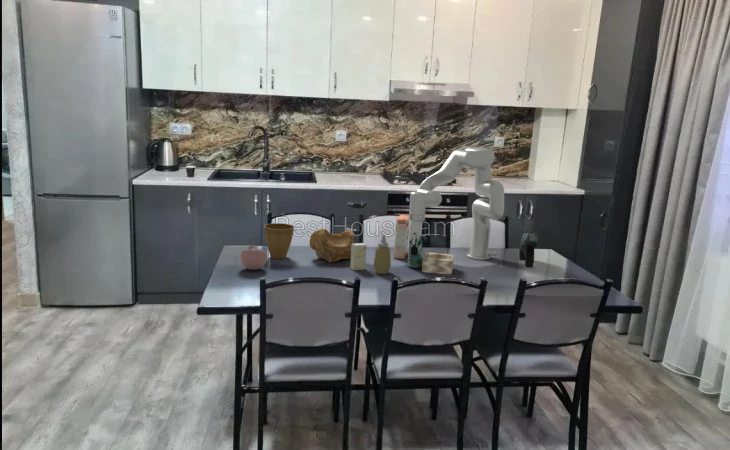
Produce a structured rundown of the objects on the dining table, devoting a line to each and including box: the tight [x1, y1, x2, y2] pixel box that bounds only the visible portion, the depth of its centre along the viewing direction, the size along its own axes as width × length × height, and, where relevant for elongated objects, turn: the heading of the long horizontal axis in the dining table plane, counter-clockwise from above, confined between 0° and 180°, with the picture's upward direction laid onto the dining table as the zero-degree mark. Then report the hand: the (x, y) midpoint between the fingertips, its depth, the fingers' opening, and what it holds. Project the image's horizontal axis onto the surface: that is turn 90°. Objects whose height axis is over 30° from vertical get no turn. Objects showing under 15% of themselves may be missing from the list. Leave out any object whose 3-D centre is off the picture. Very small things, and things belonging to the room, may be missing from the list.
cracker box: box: [393, 214, 411, 260], centre depth 287 cm, size 14×6×21 cm, turn 168°
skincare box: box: [349, 242, 367, 271], centre depth 260 cm, size 6×4×12 cm
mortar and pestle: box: [239, 244, 268, 271], centre depth 251 cm, size 12×12×12 cm
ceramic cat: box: [518, 226, 539, 268], centre depth 285 cm, size 20×6×20 cm, turn 177°
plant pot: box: [263, 222, 295, 260], centre depth 273 cm, size 15×15×16 cm
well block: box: [421, 251, 455, 276], centre depth 265 cm, size 14×12×7 cm
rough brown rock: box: [309, 228, 355, 264], centre depth 273 cm, size 23×17×15 cm
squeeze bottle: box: [373, 234, 392, 275], centre depth 255 cm, size 8×8×18 cm
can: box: [407, 235, 423, 269], centre depth 267 cm, size 6×6×15 cm
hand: (414, 252), depth 267 cm, fingers closed on can, 6 cm apart
